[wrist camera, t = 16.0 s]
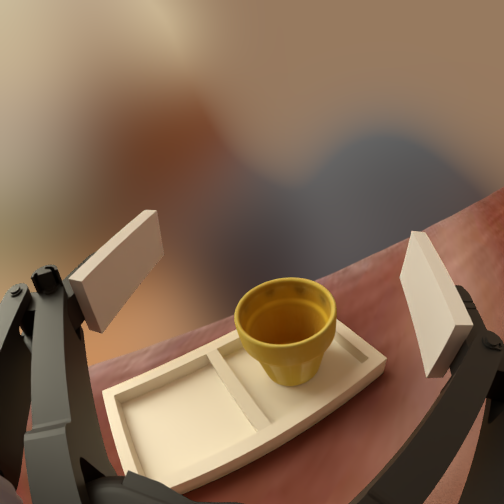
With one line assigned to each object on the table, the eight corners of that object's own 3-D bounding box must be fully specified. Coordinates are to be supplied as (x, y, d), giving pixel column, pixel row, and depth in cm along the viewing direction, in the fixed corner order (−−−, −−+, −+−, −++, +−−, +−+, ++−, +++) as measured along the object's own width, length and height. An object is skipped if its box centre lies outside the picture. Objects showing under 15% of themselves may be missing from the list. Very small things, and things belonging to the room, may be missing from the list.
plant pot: (274, 416, 30) (261, 364, 25) (237, 356, 38) (219, 299, 33) (351, 372, 33) (357, 313, 28) (305, 323, 41) (300, 265, 36)
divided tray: (305, 308, 45) (304, 293, 43) (383, 372, 32) (386, 358, 31) (112, 403, 34) (102, 391, 33) (147, 506, 22) (134, 500, 20)
